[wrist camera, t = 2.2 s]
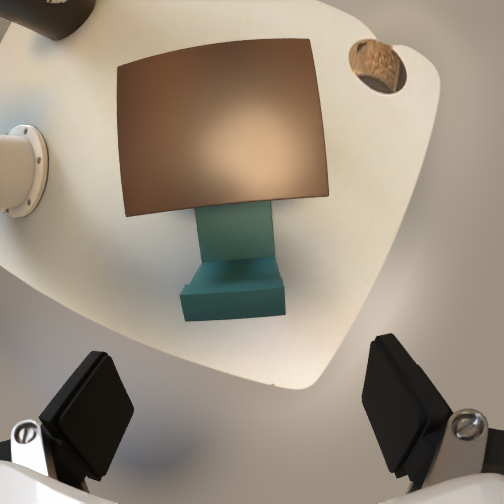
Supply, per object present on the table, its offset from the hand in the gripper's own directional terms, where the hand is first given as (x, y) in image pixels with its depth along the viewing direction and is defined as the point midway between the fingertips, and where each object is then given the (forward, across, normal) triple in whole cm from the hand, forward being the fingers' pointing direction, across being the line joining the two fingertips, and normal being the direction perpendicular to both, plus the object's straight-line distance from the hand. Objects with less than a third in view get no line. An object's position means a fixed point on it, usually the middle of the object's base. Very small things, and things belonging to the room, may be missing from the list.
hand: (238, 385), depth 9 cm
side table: (+20, +1, -10) cm, 23 cm away
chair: (+20, +1, -3) cm, 20 cm away
